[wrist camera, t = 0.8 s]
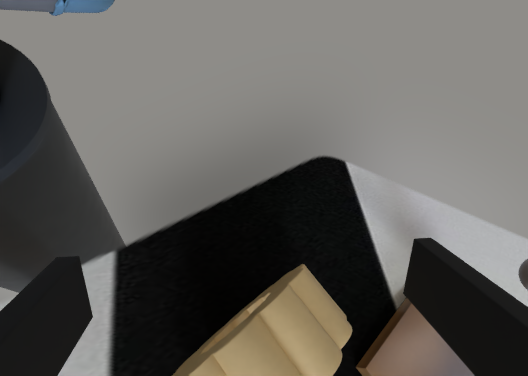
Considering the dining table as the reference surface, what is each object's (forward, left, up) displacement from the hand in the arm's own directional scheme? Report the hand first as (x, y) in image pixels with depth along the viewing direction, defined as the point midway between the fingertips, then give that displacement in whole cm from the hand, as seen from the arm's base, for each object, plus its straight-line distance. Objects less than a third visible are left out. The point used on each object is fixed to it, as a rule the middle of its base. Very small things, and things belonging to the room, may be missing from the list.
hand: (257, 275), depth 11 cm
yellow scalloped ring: (+4, 0, -15) cm, 16 cm away
